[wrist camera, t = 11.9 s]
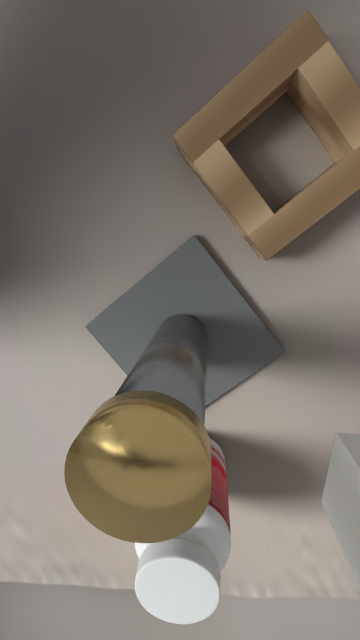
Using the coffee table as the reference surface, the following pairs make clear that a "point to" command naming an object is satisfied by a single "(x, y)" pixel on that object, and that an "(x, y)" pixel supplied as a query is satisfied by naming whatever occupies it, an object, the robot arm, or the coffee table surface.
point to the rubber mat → (198, 301)
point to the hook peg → (149, 443)
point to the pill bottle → (189, 560)
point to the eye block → (255, 98)
